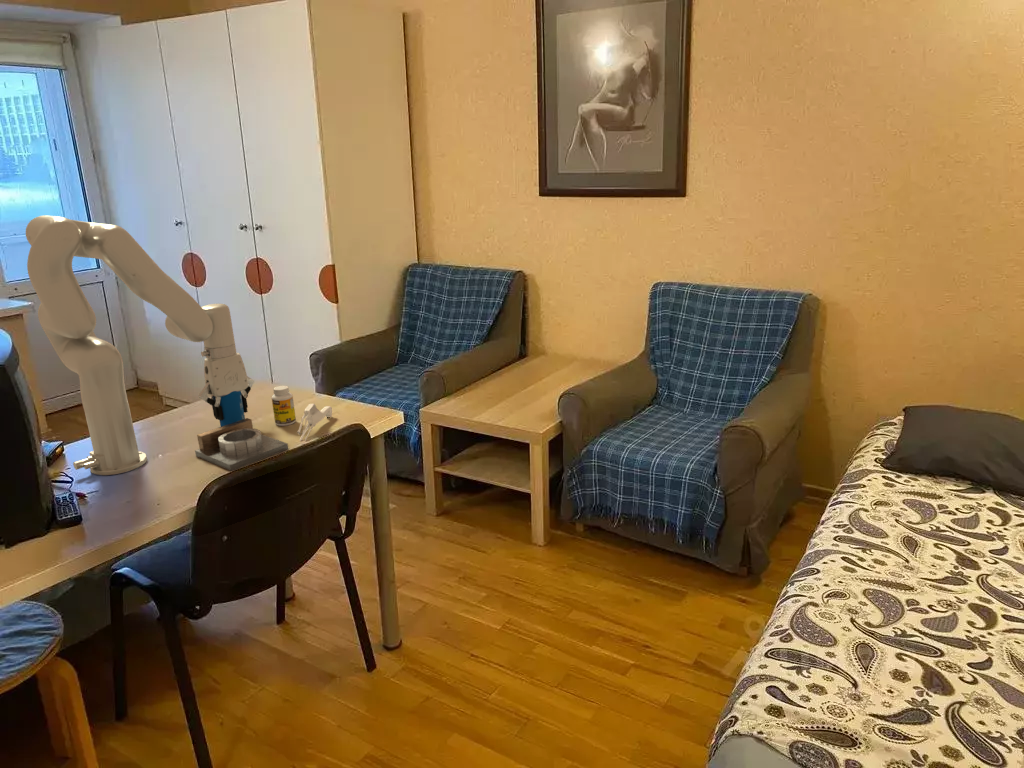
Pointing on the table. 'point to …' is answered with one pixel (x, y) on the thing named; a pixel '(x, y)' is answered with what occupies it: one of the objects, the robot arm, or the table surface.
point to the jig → (237, 445)
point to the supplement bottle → (283, 406)
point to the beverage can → (232, 408)
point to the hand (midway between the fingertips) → (231, 414)
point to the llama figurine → (313, 417)
